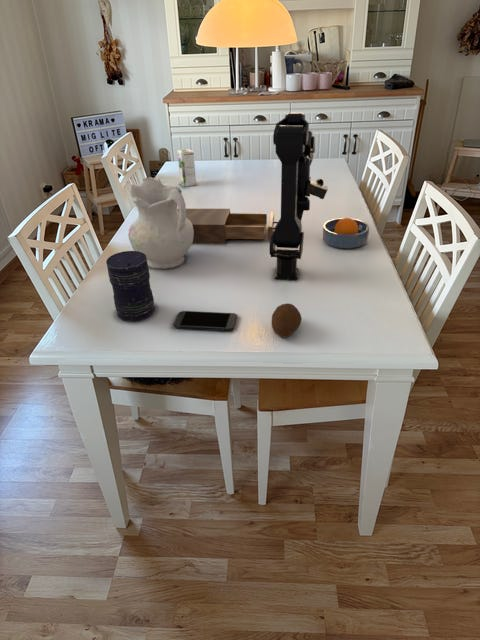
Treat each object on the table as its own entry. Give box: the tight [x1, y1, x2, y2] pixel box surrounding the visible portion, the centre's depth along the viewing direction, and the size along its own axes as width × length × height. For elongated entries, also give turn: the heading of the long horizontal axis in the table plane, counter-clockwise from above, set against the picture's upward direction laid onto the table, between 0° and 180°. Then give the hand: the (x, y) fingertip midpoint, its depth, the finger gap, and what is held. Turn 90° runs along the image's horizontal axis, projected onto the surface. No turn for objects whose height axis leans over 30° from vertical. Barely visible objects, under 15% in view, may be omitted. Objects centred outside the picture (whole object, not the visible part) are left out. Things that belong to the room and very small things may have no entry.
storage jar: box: [105, 250, 156, 323], centre depth 121 cm, size 10×10×15 cm
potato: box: [271, 302, 303, 338], centre depth 113 cm, size 7×10×7 cm
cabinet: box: [177, 208, 231, 245], centre depth 164 cm, size 19×15×7 cm
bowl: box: [322, 217, 370, 249], centre depth 155 cm, size 14×14×5 cm
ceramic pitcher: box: [127, 176, 194, 270], centre depth 142 cm, size 22×20×25 cm
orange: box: [334, 217, 358, 235], centre depth 152 cm, size 7×7×7 cm
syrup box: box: [177, 148, 197, 188], centre depth 209 cm, size 6×6×14 cm
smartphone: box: [172, 310, 238, 332], centre depth 119 cm, size 7×15×1 cm, turn 81°
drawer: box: [225, 211, 279, 242], centre depth 161 cm, size 22×13×5 cm, turn 83°
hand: (299, 221), depth 159 cm, fingers closed
